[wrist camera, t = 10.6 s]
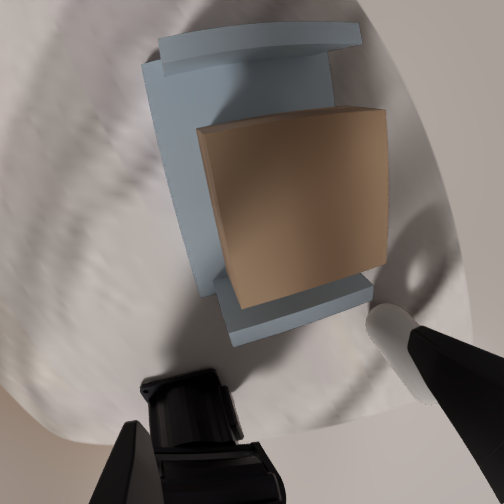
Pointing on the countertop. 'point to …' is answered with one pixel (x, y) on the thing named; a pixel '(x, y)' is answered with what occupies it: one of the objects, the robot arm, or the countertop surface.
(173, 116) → the peg stand
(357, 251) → the walnut block
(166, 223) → the countertop surface
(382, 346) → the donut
